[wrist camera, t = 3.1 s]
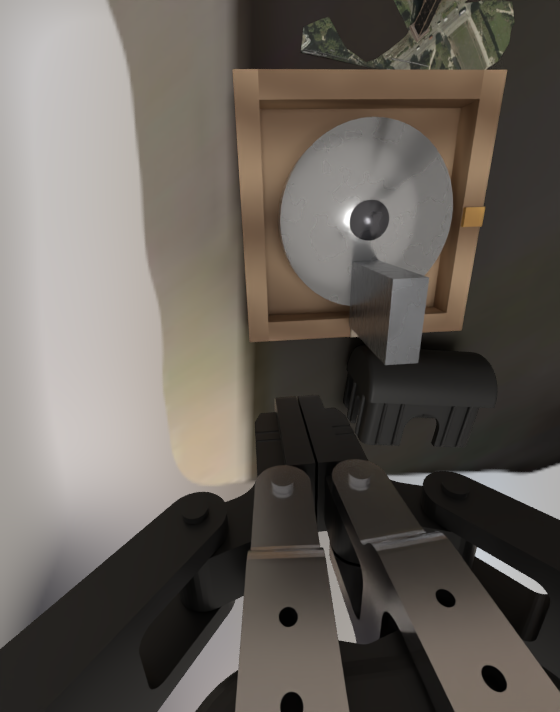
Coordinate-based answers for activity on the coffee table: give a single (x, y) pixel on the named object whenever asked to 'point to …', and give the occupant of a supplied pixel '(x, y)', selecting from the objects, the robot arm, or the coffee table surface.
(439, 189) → the dial
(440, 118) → the wooden square tray
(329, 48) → the eiffel tower figurine
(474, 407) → the end cap
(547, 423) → the coffee table surface
